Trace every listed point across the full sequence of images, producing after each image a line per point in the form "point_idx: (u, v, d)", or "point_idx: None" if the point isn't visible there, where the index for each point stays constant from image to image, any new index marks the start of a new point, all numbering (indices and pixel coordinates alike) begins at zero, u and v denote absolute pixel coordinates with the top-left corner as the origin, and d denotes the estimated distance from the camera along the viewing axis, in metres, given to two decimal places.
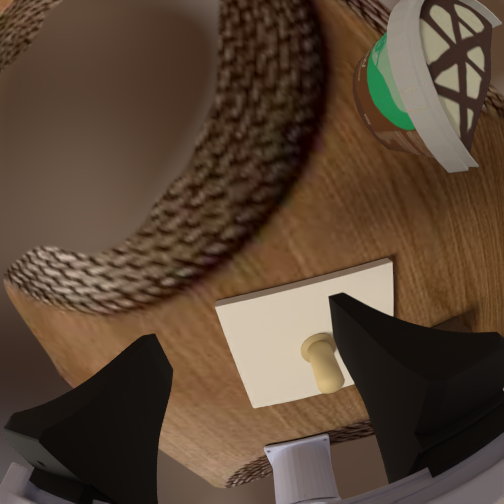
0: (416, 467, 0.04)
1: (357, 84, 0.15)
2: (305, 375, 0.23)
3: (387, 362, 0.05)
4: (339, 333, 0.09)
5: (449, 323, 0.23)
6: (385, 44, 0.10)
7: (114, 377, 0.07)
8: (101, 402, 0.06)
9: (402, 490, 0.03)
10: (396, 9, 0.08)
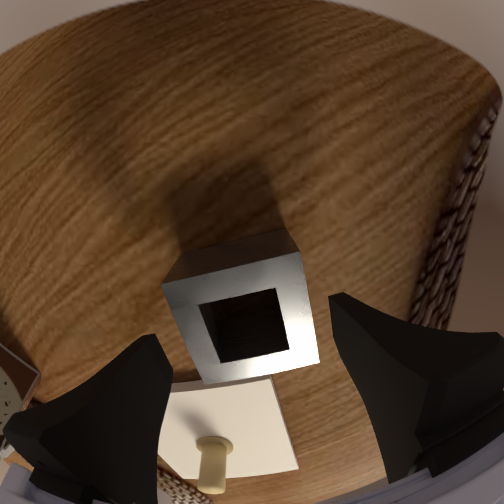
0: (416, 467, 0.04)
1: None
2: (253, 450, 0.19)
3: (386, 362, 0.05)
4: (339, 333, 0.09)
5: None
6: None
7: (114, 377, 0.07)
8: (101, 402, 0.06)
9: (402, 490, 0.03)
10: None
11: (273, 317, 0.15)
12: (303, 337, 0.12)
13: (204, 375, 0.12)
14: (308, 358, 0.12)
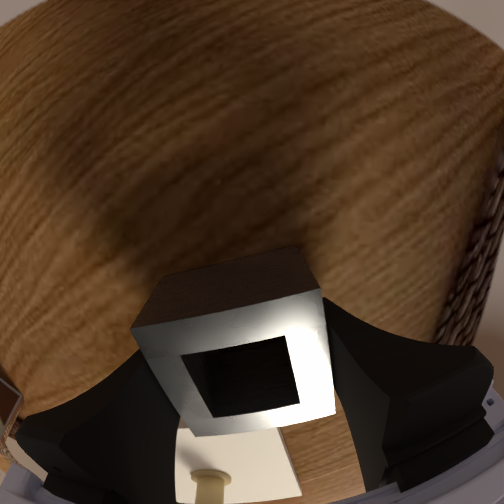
0: (387, 479, 0.04)
1: None
2: (253, 481, 0.16)
3: (356, 372, 0.05)
4: None
5: None
6: None
7: (133, 376, 0.07)
8: (121, 402, 0.06)
9: (402, 490, 0.03)
10: None
11: (278, 355, 0.12)
12: (318, 390, 0.08)
13: (194, 428, 0.09)
14: (322, 410, 0.09)
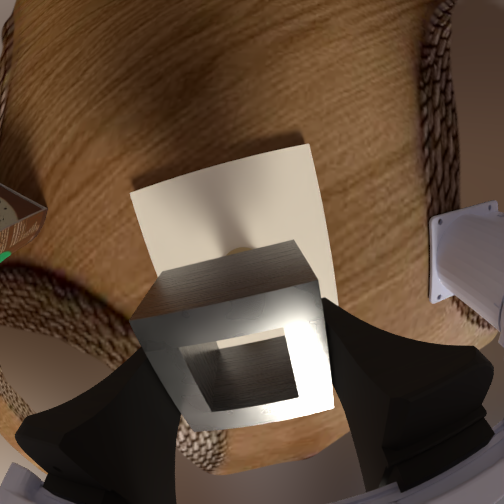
0: (387, 479, 0.04)
1: None
2: None
3: (356, 372, 0.05)
4: None
5: None
6: None
7: (132, 376, 0.07)
8: (121, 402, 0.06)
9: (402, 490, 0.03)
10: None
11: (277, 349, 0.12)
12: (316, 383, 0.09)
13: (192, 423, 0.09)
14: (321, 405, 0.09)
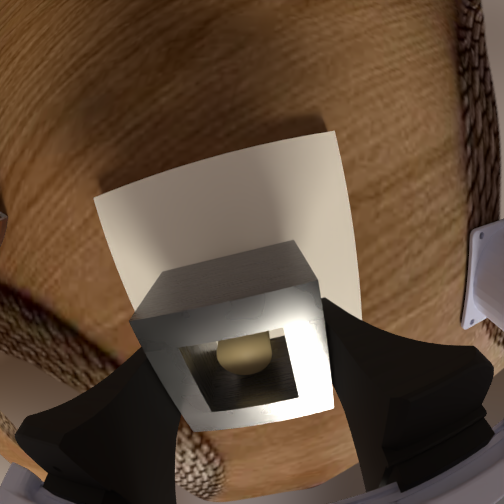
0: (387, 479, 0.04)
1: None
2: None
3: (356, 371, 0.05)
4: None
5: None
6: None
7: (133, 376, 0.07)
8: (121, 402, 0.06)
9: (402, 490, 0.03)
10: None
11: (277, 349, 0.12)
12: (316, 384, 0.09)
13: (192, 423, 0.09)
14: (321, 405, 0.09)
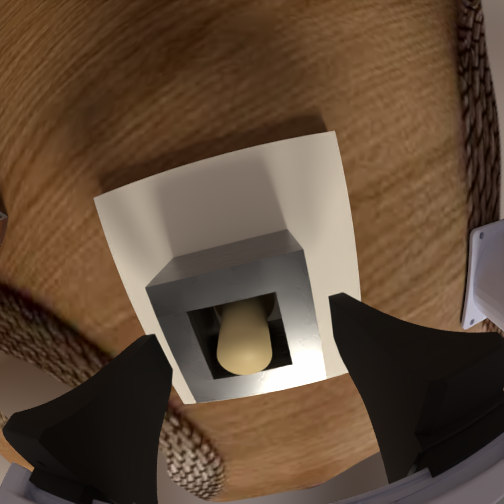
0: (416, 467, 0.04)
1: None
2: None
3: (386, 362, 0.05)
4: (339, 333, 0.09)
5: None
6: None
7: (114, 377, 0.07)
8: (101, 402, 0.06)
9: (402, 490, 0.03)
10: None
11: (274, 329, 0.13)
12: (308, 350, 0.10)
13: (195, 392, 0.10)
14: (314, 374, 0.10)
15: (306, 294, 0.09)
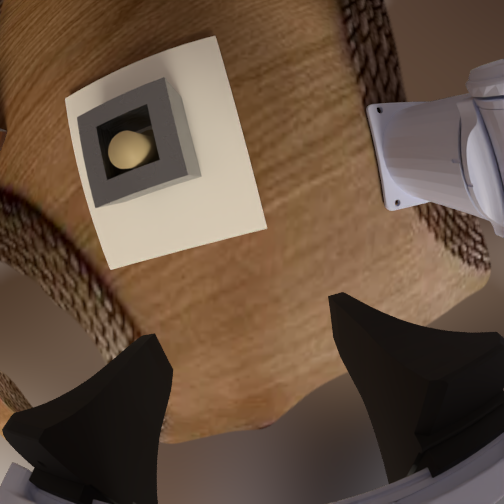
0: (416, 467, 0.04)
1: None
2: (199, 159, 0.17)
3: (386, 362, 0.05)
4: (339, 333, 0.09)
5: None
6: None
7: (114, 377, 0.07)
8: (101, 402, 0.06)
9: (402, 490, 0.03)
10: None
11: None
12: (170, 146, 0.13)
13: (95, 196, 0.13)
14: (177, 169, 0.13)
15: (166, 103, 0.12)
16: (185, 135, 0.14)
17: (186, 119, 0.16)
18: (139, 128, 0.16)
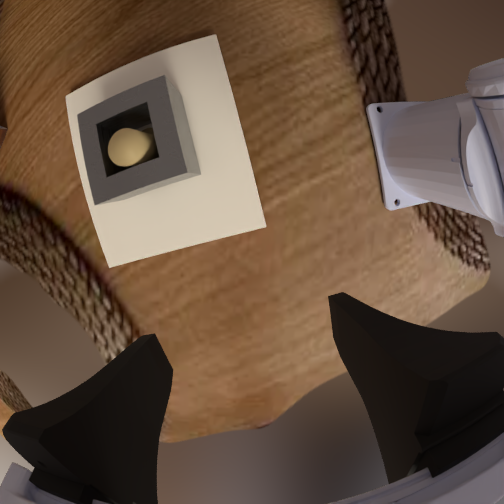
0: (416, 467, 0.04)
1: None
2: (198, 157, 0.17)
3: (386, 361, 0.05)
4: (339, 333, 0.09)
5: None
6: None
7: (114, 377, 0.07)
8: (101, 402, 0.06)
9: (402, 490, 0.03)
10: None
11: None
12: (169, 143, 0.13)
13: (94, 193, 0.13)
14: (176, 167, 0.13)
15: (166, 100, 0.12)
16: (185, 133, 0.14)
17: (186, 117, 0.16)
18: (139, 126, 0.16)
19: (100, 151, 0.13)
